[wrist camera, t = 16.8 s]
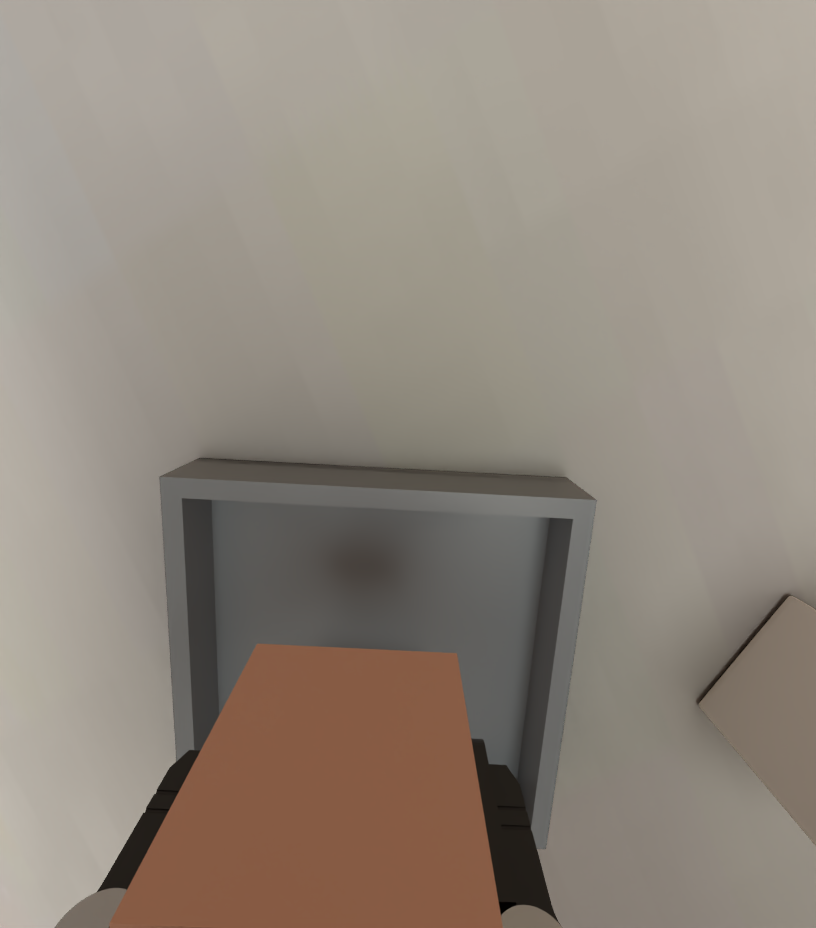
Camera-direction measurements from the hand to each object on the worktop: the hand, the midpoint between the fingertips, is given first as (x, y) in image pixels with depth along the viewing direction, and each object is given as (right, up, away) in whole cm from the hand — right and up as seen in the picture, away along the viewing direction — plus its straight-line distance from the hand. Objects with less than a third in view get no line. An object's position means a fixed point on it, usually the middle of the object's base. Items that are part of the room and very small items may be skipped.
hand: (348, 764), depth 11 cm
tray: (0, -1, +12) cm, 12 cm away
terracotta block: (0, 0, +1) cm, 1 cm away
